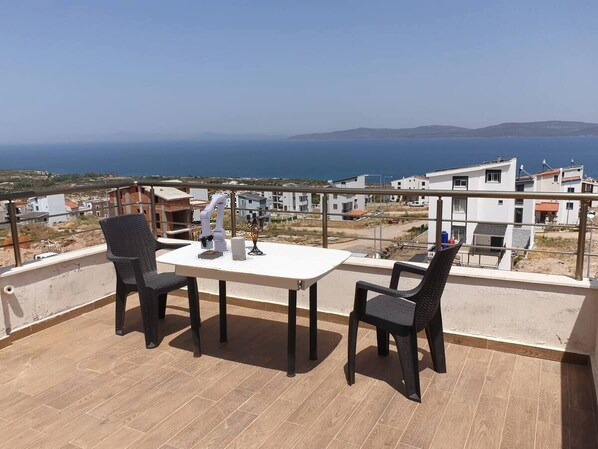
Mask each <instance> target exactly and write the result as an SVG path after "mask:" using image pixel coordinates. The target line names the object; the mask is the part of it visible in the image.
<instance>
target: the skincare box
mask: <svg viewBox="0 0 598 449" xmlns="http://www.w3.org/2000/svg"><path fill="white" fill-rule="evenodd" d="M230 247H231V258H232V261H244V260H245V259H247V254H246V253H247V252H246V251H247V250H246V241H245V236H233V237H232V238H230Z"/></svg>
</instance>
